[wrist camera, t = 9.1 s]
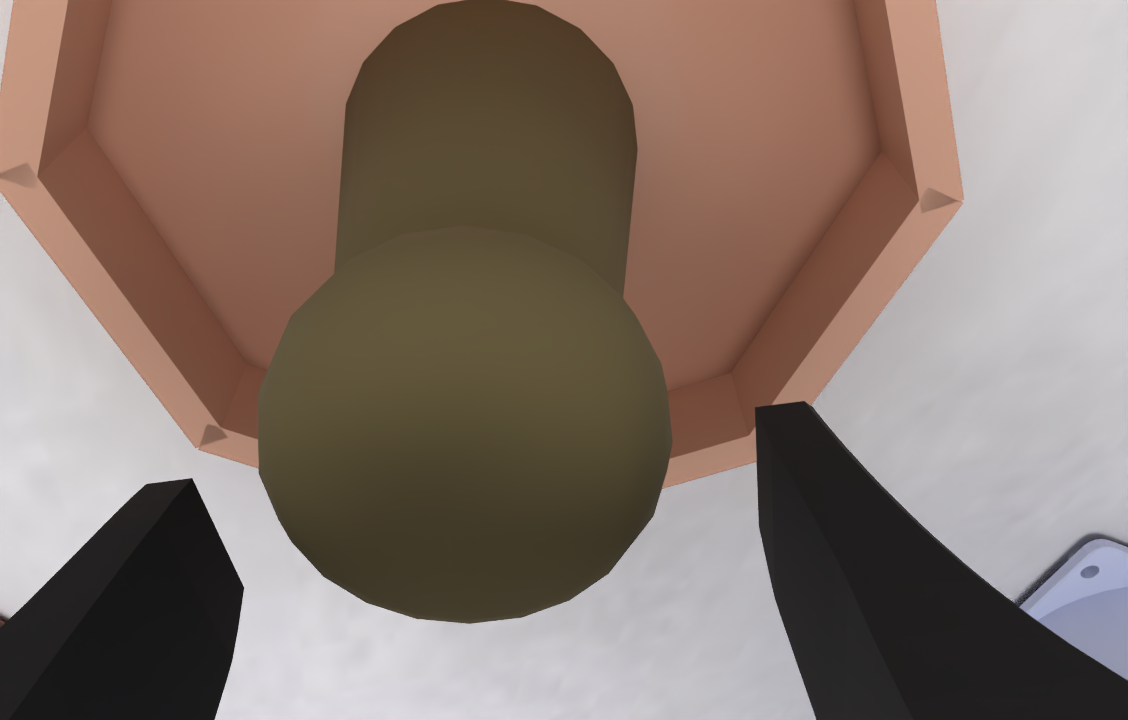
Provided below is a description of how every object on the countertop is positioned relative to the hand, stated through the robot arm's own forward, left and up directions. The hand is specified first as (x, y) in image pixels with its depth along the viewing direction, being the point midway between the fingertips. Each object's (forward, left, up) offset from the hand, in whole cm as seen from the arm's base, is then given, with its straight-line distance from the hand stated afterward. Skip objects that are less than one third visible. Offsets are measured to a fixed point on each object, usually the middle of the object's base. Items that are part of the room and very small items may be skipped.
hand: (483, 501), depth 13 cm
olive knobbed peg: (+1, +1, -10) cm, 10 cm away
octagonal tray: (+1, +1, -10) cm, 10 cm away
